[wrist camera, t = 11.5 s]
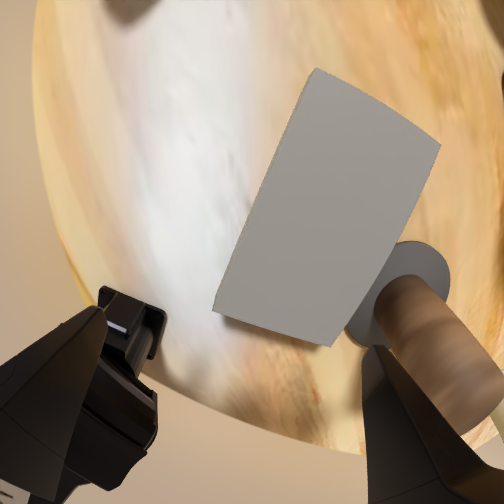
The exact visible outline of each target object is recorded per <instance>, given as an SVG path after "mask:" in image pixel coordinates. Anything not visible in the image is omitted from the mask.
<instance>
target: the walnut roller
mask: <svg viewBox="0 0 504 504" xmlns="http://www.w3.org/2000/svg"><path fill="white" fill-rule="evenodd" d="M374 316H375V319H376V321H377V323H378V324H379V326H380V328H381V330H382V332H383V333H384V335H385V337H386V339H387V341H388V342H389V344H390V346H391V348H392V350H393V352H394V354H395V355H396V357H397V359H398V361H399V363H400V364H401V365H402V366H403V368H404V369H405V370H406V371H407V372H408V373H409V375H410V376H411V377H412V378H413V379H414V381H415V382H416V383H417V384H418V386H419V387H420V388H421V389H422V390H423V392H424V393H425V394H426V395H427V397H428V398H429V399H430V400H431V401H432V403H433V404H434V405H435V406H436V408H437V409H438V410H439V411H440V413H441V414H442V417H444V418H445V419H446V420H447V421H448V423H449V424H450V425H451V426H452V428H453V429H454V430H455V431H456V432H457V434H458V435H459V436H461V435H463V434H465V433H466V432H468V431H469V430H471V429H472V428H474V427H475V426H477V425H478V424H479V423H480V422H482V421H483V420H484V419H485V418H486V417H487V416H488V415H489V414H491V413H492V411H493V410H494V409H495V408H496V407H497V406H498V405H499V404H500V402H501V401H502V400H503V398H504V374H503V373H502V372H501V370H500V369H499V367H498V366H497V365H496V363H495V362H494V361H493V360H492V358H491V357H490V356H489V354H488V353H487V352H486V350H485V349H484V348H483V347H482V345H481V344H480V343H479V342H478V341H477V339H476V338H475V337H474V336H473V334H472V333H471V332H470V331H469V330H468V328H467V327H466V326H465V325H464V324H463V323H462V321H461V320H460V319H459V318H458V317H457V316H456V315H455V313H454V312H453V311H452V310H451V309H450V308H449V307H448V306H447V305H446V304H445V302H444V301H443V300H442V299H441V298H440V297H439V296H438V295H437V294H436V293H435V292H434V291H433V290H432V289H431V287H430V286H429V285H428V284H427V283H426V282H425V281H424V280H423V279H422V278H420V277H419V276H417V275H413V274H407V275H402V276H399V277H397V278H395V279H393V280H392V281H390V282H389V283H388V284H387V285H386V286H385V287H384V288H383V289H382V290H381V292H380V293H379V295H378V297H377V299H376V301H375V304H374Z"/></svg>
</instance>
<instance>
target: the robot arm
mask: <svg viewBox="0 0 504 504" xmlns="http://www.w3.org/2000/svg"><path fill="white" fill-rule="evenodd" d="M103 290H104V291H105V292H106V293H105V292H104V291H103ZM158 314H160V315H161V316H159V315H158ZM165 316H166V314H165V312H164V311H163V310H162V309H159V308H157V307H154V306H152V305H149V304H147V303H144V302H142V301H139V300H137V299H134V298H132V297H130V296H127V295H125V294H123V293H120V292H118V291H116V290H113V289H111V288H109V287H107V286H102V287H101V288H100V289H99V295H98V306H94V305H91V306H89V307H88V308H86V309H85V310H83V311H81V312H80V313H78V314H77V315H75V316H74V317H72V318H71V319H69V320H68V321H66V322H65V323H61V324H60V325H59V326H58V327H57V328H55V329H54V330H52V331H51V332H49V333H48V334H46V335H45V336H43V337H42V338H40V339H39V340H37V341H36V342H34V343H33V344H32V345H30V346H29V347H27V348H26V349H24V350H23V351H21V352H20V353H19V354H18V355H16V356H14V357H13V358H11V359H10V360H9V361H7V362H5V363H4V364H3V365H1V366H0V504H64V502H65V501H66V500H67V499H68V497H69V496H70V495H71V494H72V492H73V491H74V490H75V489H76V488H77V487H78V486H81V485H86V484H90V483H93V484H95V485H97V486H98V487H100V488H102V489H104V490H106V491H110V490H113V489H114V488H117V487H118V486H120V485H121V483H122V481H123V480H124V478H125V477H126V475H127V474H128V472H129V471H130V469H131V468H132V467H133V466H134V465H135V464H136V463H137V462H138V461H139V460H140V459H142V458H143V457H144V456H146V455H147V451H146V450H147V449H148V448H149V447H150V446H151V445H152V443H153V442H154V440H155V437H156V435H157V431H158V414H157V393H156V392H154V391H153V390H150V389H149V388H148V387H146V386H145V385H144V384H143V383H142V382H141V381H139V380H138V376H139V374H140V372H141V369H142V367H143V364H144V362H145V360H146V359H149V360H153V359H154V357H155V353H156V350H157V346H158V342H159V338H160V334H161V330H162V327H163V323H164V319H165ZM362 407H363V418H364V428H365V440H366V455H367V475H368V504H504V470H501V469H497V468H494V467H491V466H489V465H487V464H486V463H485V462H484V461H483V460H482V459H481V458H480V457H479V456H478V455H477V454H476V453H475V452H474V451H473V450H472V449H471V448H470V447H469V446H468V445H467V443H466V442H465V441H464V440H463V439H462V438H461V437H460V436H459V435H458V434H457V432H456V431H455V430H454V429H453V428H452V426H451V425H450V424H449V423H448V421H447V420H446V419H445V418H444V417H442V414H441V413H440V411H439V410H438V409H437V408H436V406H435V405H434V404H433V403H432V401H431V400H430V399H429V398H428V397H427V395H426V394H425V393H424V392H423V390H422V389H421V388H420V387H419V386H418V384H417V383H416V382H415V381H414V379H413V378H412V377H411V376H410V375H409V373H408V372H407V371H406V370H405V369H404V368H403V366H402V365H401V364H400V363H399V362H398V360H397V359H396V358H395V357H394V356H393V355H392V353H391V352H390V351H389V350H388V349H387V348H386V346H385V345H383V344H372V345H371V346H370V348H369V349H368V351H367V353H366V354H365V356H364V358H363V360H362Z"/></svg>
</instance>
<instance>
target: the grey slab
mask: <svg viewBox="0 0 504 504" xmlns="http://www.w3.org/2000/svg"><path fill="white" fill-rule="evenodd" d="M440 147H441V144H440V143H438V142H437V141H436V140H435V139H433V138H432V137H431V136H429V135H428V134H427V133H426V132H424V131H423V130H421V129H420V128H419V127H417V126H416V125H415V124H413V123H412V122H410V121H409V120H408V119H406V118H405V117H403V116H402V115H400V114H399V113H397V112H396V111H394V110H393V109H391V108H389V107H388V106H386V105H385V104H383V103H382V102H380V101H378V100H377V99H375V98H373V97H372V96H370V95H368V94H366V93H365V92H363V91H361V90H359V89H358V88H356V87H354V86H352V85H350V84H348V83H347V82H345V81H343V80H341V79H339V78H337V77H335V76H333V75H331V74H329V73H327V72H325V71H323V70H320V69H318V68H315V69H314V70H313V71H312V72H311V74H310V75H309V77H308V79H307V81H306V83H305V86H304V88H303V90H302V92H301V95H300V97H299V99H298V101H297V104H296V106H295V108H294V110H293V113H292V115H291V117H290V119H289V122H288V124H287V126H286V129H285V131H284V133H283V135H282V138H281V140H280V142H279V145H278V147H277V149H276V152H275V154H274V156H273V159H272V161H271V163H270V166H269V168H268V170H267V173H266V175H265V177H264V180H263V182H262V184H261V187H260V189H259V191H258V194H257V196H256V199H255V201H254V203H253V206H252V208H251V210H250V213H249V215H248V218H247V220H246V222H245V225H244V227H243V230H242V232H241V234H240V237H239V239H238V242H237V244H236V247H235V249H234V251H233V254H232V256H231V259H230V261H229V264H228V266H227V269H226V271H225V273H224V276H223V278H222V281H221V283H220V286H219V288H218V291H217V293H216V296H215V300H214V305H213V309H212V311H214V312H217V313H219V314H222V315H225V316H228V317H231V318H234V319H237V320H240V321H243V322H246V323H249V324H252V325H255V326H259V327H262V328H265V329H268V330H271V331H275V332H278V333H281V334H284V335H288V336H291V337H295V338H298V339H302V340H305V341H309V342H312V343H316V344H319V345H323V346H327V347H331V346H332V344H333V343H334V342H335V340H336V339H337V337H338V336H339V335H340V333H341V332H342V330H343V329H344V327H345V326H346V325H347V323H348V322H349V320H350V319H351V317H352V316H353V314H354V313H355V311H356V310H357V308H358V307H359V305H360V303H361V302H362V300H363V299H364V297H365V296H366V294H367V292H368V291H369V289H370V288H371V286H372V284H373V283H374V281H375V279H376V278H377V276H378V274H379V273H380V271H381V269H382V267H383V266H384V264H385V262H386V260H387V259H388V257H389V255H390V253H391V252H392V250H393V248H394V246H395V244H396V242H397V241H398V239H399V237H400V235H401V233H402V231H403V229H404V227H405V225H406V223H407V221H408V219H409V217H410V215H411V213H412V211H413V209H414V207H415V205H416V203H417V201H418V199H419V197H420V194H421V192H422V190H423V188H424V186H425V183H426V181H427V179H428V176H429V174H430V172H431V169H432V167H433V165H434V162H435V160H436V157H437V155H438V152H439V150H440Z"/></svg>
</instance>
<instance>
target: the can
mask: <svg viewBox="0 0 504 504" xmlns="http://www.w3.org/2000/svg"><path fill="white" fill-rule="evenodd" d="M501 372H502V373H503V374H504V369H503V370H502V371H501ZM489 415H490V417H491V419H492V420H493V422H494V424H495V426H496V428H497V430H498V432H499V434H500V436H501V438H502V440H503V443H504V398H503V400H502V401H501V402H500V404H499V405H498V406H497V407H496V408H495V409H494V410H493V411H492V413H491V414H489Z"/></svg>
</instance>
